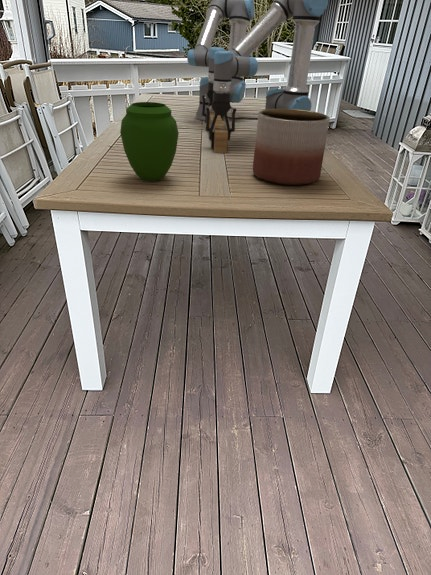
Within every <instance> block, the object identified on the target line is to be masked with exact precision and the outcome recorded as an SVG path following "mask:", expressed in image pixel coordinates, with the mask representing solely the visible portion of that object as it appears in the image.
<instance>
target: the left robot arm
mask: <svg viewBox="0 0 431 575" xmlns="http://www.w3.org/2000/svg"><path fill="white" fill-rule="evenodd" d="M205 16H206V17H205V19H204V22H203V25H202V28H201V31H200V33H199V36H198V39H197V41H196V45H195V47H194V48H191V49H189V50H188V51H187V54H186V55H187V56H186V60H187V63H188V65H189V66H193V67H203V68H204V67H205V68H208V72H207V73H208V74H207V76H205V77H201V78H200V80H199V86H198V87H199V94H198V95H199V99H198V101H199V103H198V104H199V105H198V107H197V111H196V114H195V119H196V120H199V121H202V122H203V121H204V123H205V124H206V117H207V111H206V107H207V106H208V107H209V106H212V104H213V93H214V92H215V91H214V90H213V85H214V59H215V53H216V51H225V48H224V47H220V46H219V47H218V46H212V44H213V41H214V38H215V36H216V34H217V31H218V28H219V26H220V25H219V24H220V23H221V22H222V21H223V19H228V23H229V24H230V34H229V42H228V51H230V50H231V49H232V48H233V47H234V46H235V45H236V44H237V43H238V42H239V41H240V40H241V39H242V38H243V37H244V36H245V35H246V34H247V29H248V28H247V27H248V26H249V25H250V24H251V20H254V16H255V1H254V0H211V1H210V3H209V4H208V6H207V9H206V11H205ZM246 85H247V83H246V81H244V77H236V76H235V77H232V78H231V91H230V92H229V93H230V103H232V104H237V103H238V104H239V103H241V102H242V101H243V99H244V96H245V94H246ZM211 111H214V110H213V109H211ZM220 116H221V118H222V121H223V122H224V118H225V117H224V116H223V115H220ZM227 117H228V119H230V120H232V116H228V115H227ZM235 120H258V117H247V116H244V117H243V116H239V117H238V116H237V117H235Z"/></svg>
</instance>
